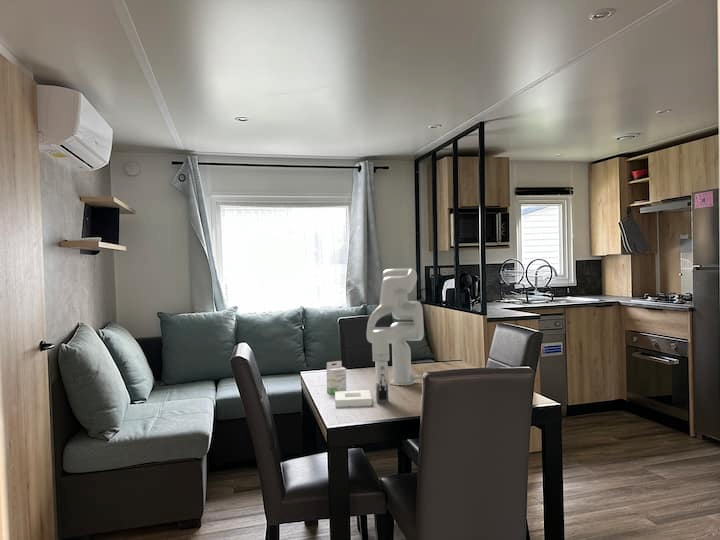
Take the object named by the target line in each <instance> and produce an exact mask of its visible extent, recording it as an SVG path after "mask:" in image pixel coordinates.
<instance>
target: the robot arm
mask: <svg viewBox="0 0 720 540" xmlns="http://www.w3.org/2000/svg"><path fill="white" fill-rule="evenodd" d="M417 274H418V273H417V272H416V270H415V268H410V267H408V268H407V267H406V268H388V269H384V271H383V272H382V280H381V288H380V296H379V305H378V306H377V307H376V308H375V309H374V310H373V311H372V313H371V314H370V315H369V318H368V321H367V324H366V325H367V326H366V340H367V342H369V343H370V344H371V350H372V351H371V352H372V354H371V355H372V362H375V363H374V364H375V378H376V383H378V384H379V389H380V390H379V399H380V400H386V399H387V397H386V383H387V384H388V385H389V383H390V385H392V386H393V385H394V386H399V385H401V387H402V386H403V385H404V386H411V385H415V383H416V382H415V380H421V378H422V377H421V375H417V374H415V375H413V373H412V361H411V360H412V357H411V356H412V354H411V352H412V351H411V348H410V345H409V344H408V343H407V341H410V342H413V341H415V342H416V341H422V340H423V339H424V335H425V330H424V329H425V328H424V327H425V326H424V309H423V306H422V305H423V304H422V303H421V302H420V301H419V300H409V299H408V294H410V293H411V292H412V291H413V288H414V287H415V286H416V284H417V281H418V275H417ZM388 314H389V315H390V314H391V315H392V318H393V319H395V320H403V321H397V322H393V323H392V324H390V326H376V324H377V322H378V321H379V320H380V319H381V318H383V317H385V316H386V315H388ZM404 320H412V321H404ZM390 345H391V356H392V379H391V380H389V379H390V377H389V366H388V365H389V364H388V362H389V361H390ZM380 382H382V383H380Z"/></svg>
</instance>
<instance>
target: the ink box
mask: <svg viewBox="0 0 720 540" xmlns="http://www.w3.org/2000/svg"><path fill="white" fill-rule="evenodd" d="M342 363H343V362H342V360H336V361H327V362H326V393H327V394H330V395H333V394H334V395H335V392H336V391H347V368H346V367H344V366H342ZM333 364H334V365H333Z"/></svg>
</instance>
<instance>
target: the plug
mask: <svg viewBox="0 0 720 540" xmlns="http://www.w3.org/2000/svg"><path fill="white" fill-rule="evenodd" d="M380 383H382V382H380ZM379 390H380V389H379V384H378V382H375V398H376V399H375V400H376V403H377V404H381V405H382V404H383V405H384V404H389V403H390V402H389V383H388V384H387V383H386V397H387V399H386V400H380V399H379Z"/></svg>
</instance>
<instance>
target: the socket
mask: <svg viewBox="0 0 720 540" xmlns="http://www.w3.org/2000/svg"><path fill="white" fill-rule="evenodd" d="M334 401H335V402H334V403H335V408H344V407H346V408H348V406H351V407H367V406H371V405H372V406H373V397H372V394H371V392H370V389H362V390H360V389H359V390H346V391H336V392H335V394H334ZM372 406H371V407H372Z"/></svg>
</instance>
